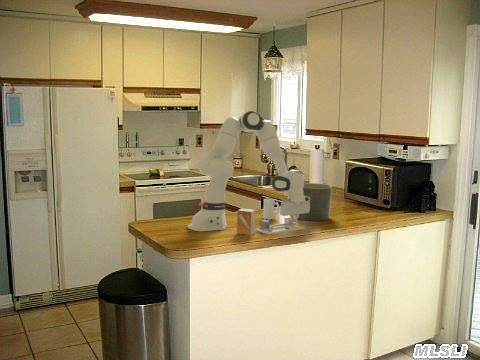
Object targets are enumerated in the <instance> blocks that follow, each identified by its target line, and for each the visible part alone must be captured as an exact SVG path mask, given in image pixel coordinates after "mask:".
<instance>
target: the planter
mask: <svg viewBox="0 0 480 360" xmlns="http://www.w3.org/2000/svg"><path fill="white" fill-rule="evenodd" d="M332 190H333V189H332V185H330V184H325V183H316V182H313V183H312V182H304V187H303V195H304V196H307V197H310V201H309V202H310V211H309V213H304V214H299V217H298V219H299V220H302V221H310V222H322V221H328V220H329V219H330V216H331V214H330V213H331V205H332V204H331V203H332ZM298 219H297V220H298Z"/></svg>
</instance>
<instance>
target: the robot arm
mask: <svg viewBox="0 0 480 360" xmlns="http://www.w3.org/2000/svg"><path fill="white" fill-rule="evenodd" d="M252 132H254V133H255V134H256V136H257V137H258V138H257V139H258V142H259V146H260V148H261V150H262V152H263V154H265V155H266V156H267V157H270V158H271V160H273V163H274V165H275V169H276V171H277V175H275V176H274V177H273V178H272V180H271V187H272V189H274V190H275V191H276V192H287V198H285V199H282V200H281V202H280V205H279V215H280V216H284V217H292V218H293V223H297V222H298V217H299V214H304V213H309V211H310V202H309V201H310V197H307V196H304V195H303V187H304V183H305V175H304V173H303V172H302V171H301V170H299V169H290V170H289V168H288V165H287V163H286V159H285V157H284V154H283V151H282V148H281V143H280V140H279V136H278V133H277V130H276V129H275V125H274V124H273V122H272V121H271V120H266V119H264V118H263V116H261V115H260V113H258V112H257V111H255V110H249V111H246V112H244V113H243V114H241V116H239V117H238V118H236V117H233V116H228V117H227V118H226V119H225V120H224V122H223V123H222V125H221V126H220V130H219V132H218V134H217V136H216V139H215V141H214V143H213V145H212V147H211V148H210V150H209V152H207V154H206V155H205V156H204V157H202V158H201V159H199V161H198V164H197V167H198V171H199V172H200V173H201V174H203V175H204V176H206V177H210V180H209V183H208V185H207V186H206V187H205V190H204V191H205V193H204V194H205V195H204V196H205V197H204V199H205V200H204V202H201V201H200V202H199V203H198V207H201V208H200V210H199V211H198V212H197V213H195V214H194V215H193V216H192V219H191V223H190V224H188V225H187V228H188V229H189V230H192V231H194V232H195V231H196V232H212V231H223V230H225V229H226V228H227V227H228V225H227V221H226V187H227V185H228V181H229V179H230V178H231V177H232V176H233V174H234V171H235V170H234V169H235V168H234V164H233V163H232V162H231V161H229V160H227V159H226V158H227V157H228V156H229V155H231V154H232V153H233V151H234V149H235V146H236V144H237V141H238V138H239V136H240V134H241V133H244V134H247V133H248V134H249V133H252Z"/></svg>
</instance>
